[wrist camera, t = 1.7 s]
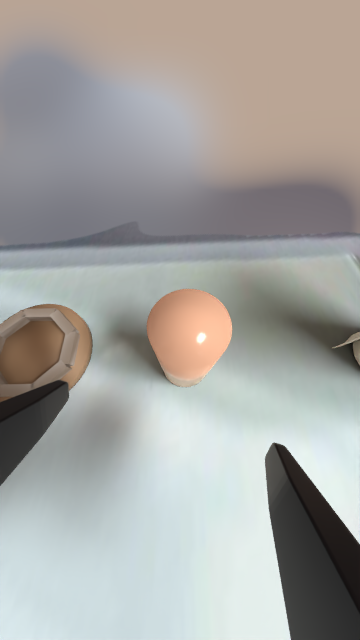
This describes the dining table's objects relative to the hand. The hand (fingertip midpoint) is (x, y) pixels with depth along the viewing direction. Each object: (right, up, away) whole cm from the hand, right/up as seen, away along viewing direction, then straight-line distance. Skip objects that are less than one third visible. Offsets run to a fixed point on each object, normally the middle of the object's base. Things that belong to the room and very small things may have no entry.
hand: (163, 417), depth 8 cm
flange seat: (-14, +1, +13) cm, 19 cm away
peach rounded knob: (+1, 0, +12) cm, 12 cm away
